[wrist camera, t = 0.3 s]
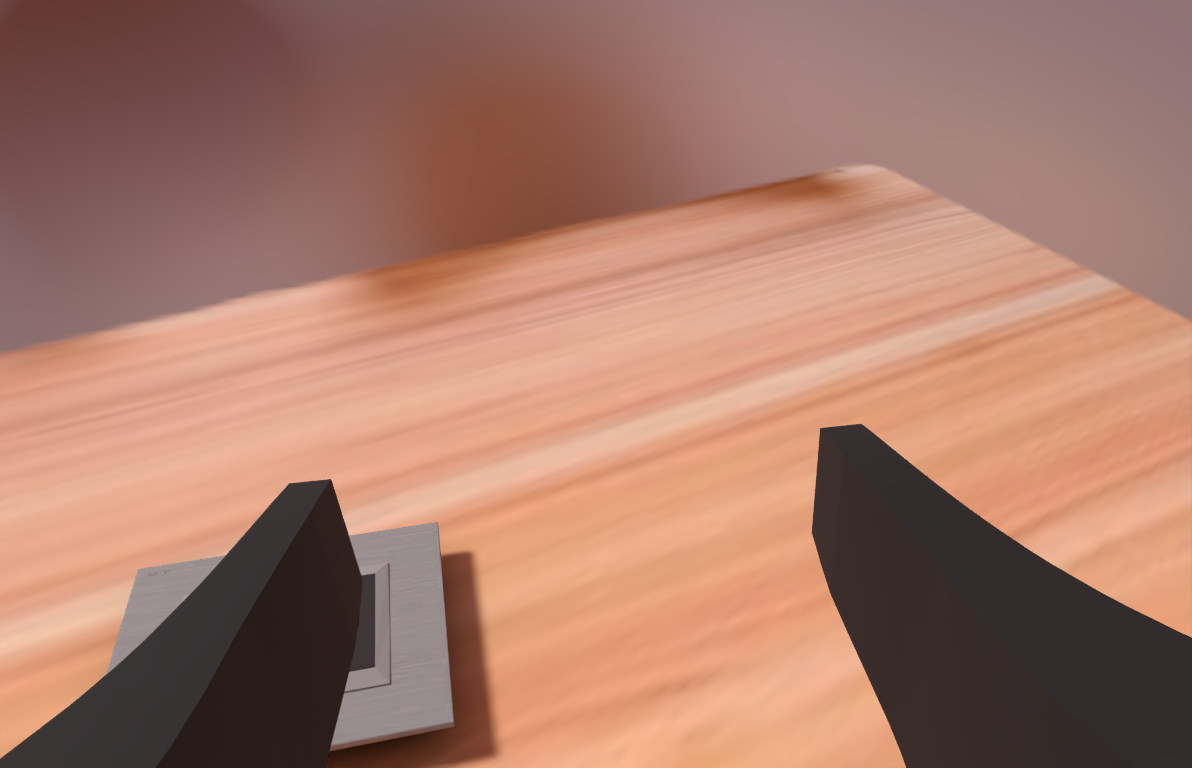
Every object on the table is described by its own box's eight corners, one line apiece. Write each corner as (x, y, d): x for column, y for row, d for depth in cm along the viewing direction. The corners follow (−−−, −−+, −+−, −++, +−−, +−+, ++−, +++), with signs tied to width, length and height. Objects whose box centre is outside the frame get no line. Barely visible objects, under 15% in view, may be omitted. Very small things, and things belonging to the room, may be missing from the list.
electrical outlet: (443, 553, 41) (437, 517, 39) (460, 753, 32) (452, 716, 31) (153, 601, 39) (136, 564, 37) (90, 827, 30) (65, 791, 29)
